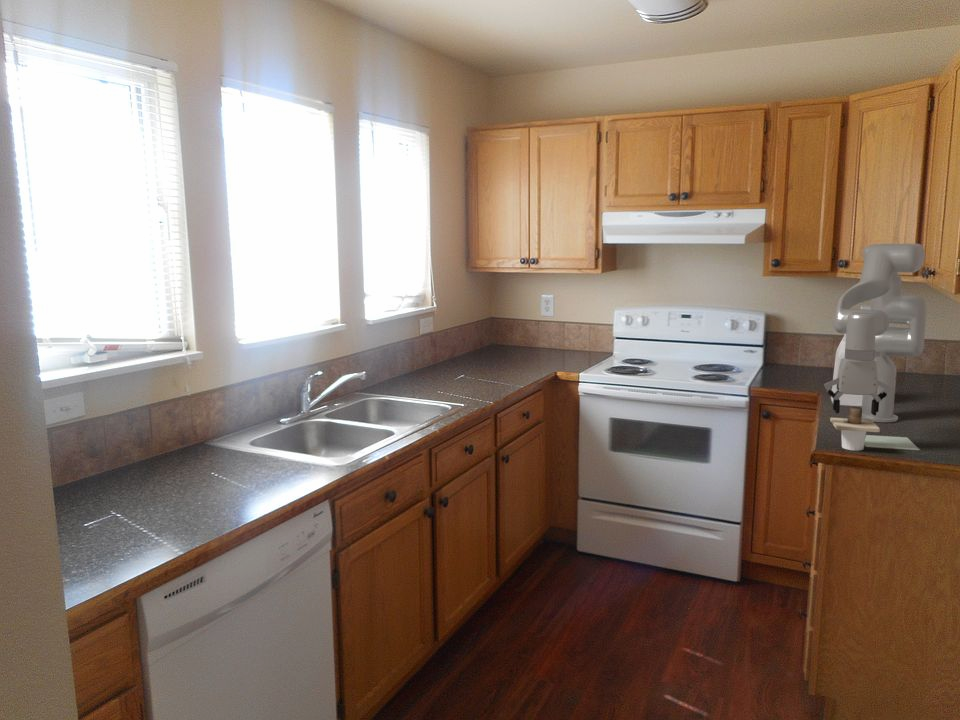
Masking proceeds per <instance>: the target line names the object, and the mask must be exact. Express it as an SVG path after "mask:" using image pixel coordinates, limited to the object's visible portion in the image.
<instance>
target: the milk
mask: <svg viewBox="0 0 960 720" xmlns="http://www.w3.org/2000/svg"><path fill="white" fill-rule="evenodd" d="M843 335H844V336H843V337H842V339H841V341H840V343H839V344H838V346H837V349H836V351H835V356H834V357H835V358H834V367H833V376H832V380H835V379H837V377H838V371H839V366H840V362H841V359H844V358H845V343H846V334H843ZM831 390H832V391H833V392H834V393H835V392H836V391H837V384H836V385H833V386H831ZM862 397H863V395H852V394H843V395H842V396H841V397H840V398H839V400H840V406H848V407H862ZM830 400H831V403H832V404H833V398H832V397H831V396H830Z"/></svg>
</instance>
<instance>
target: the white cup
mask: <svg viewBox="0 0 960 720" xmlns="http://www.w3.org/2000/svg"><path fill="white" fill-rule="evenodd" d="M840 431H841V432H840V433H841V437H840V438H841V448H842V449H845V450H847V451H848V450H849V451H863V450H864V449H865V445H864V443H865V438H866V435H867V432H866V431H849V430H840Z"/></svg>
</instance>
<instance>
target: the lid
mask: <svg viewBox="0 0 960 720" xmlns="http://www.w3.org/2000/svg"><path fill="white" fill-rule="evenodd" d="M847 414H848V415H847V417H830V418H829V419H830V422H831V424H832V425H833V427H834V428H835V429H836V430H837V431H841V430H849V431H866V433H867V432H869V433H870V432H871V433H880V431H881V430H880V427H879V426H878V425H877V424H876V422H873V421H872V420H870V419H862V406H848V413H847Z"/></svg>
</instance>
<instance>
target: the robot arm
mask: <svg viewBox="0 0 960 720" xmlns="http://www.w3.org/2000/svg"><path fill="white" fill-rule="evenodd" d="M862 259H863V266H862V270H861V274H860V278H859V282H858V283H856V284H854V285H853V286H851V287H850V288H848V289H847V290H846V291H845V292H844V293H843V294H842V295H841V296H840V298H839V300H838V302H837V305H836V308H835V312H834V316H833V328H834V330H835V331H836V332H837V333H839V334H841V335H842V334H843V335H845V334H846V343H845V358H844V359H841V362H840V366H839V371H838V377H837V379H835V380H833V379H832V380H830V381H827V382H825V383H824V384H823V386H824V388H825V391H826V392H827V394H828V396H830V398H831V397H832V398H833V403H832V410H833V411H834V412H835V414H839V413H840V409H841V408H840V407H841V405H840V400H839V398H840V397H841V396H842V395H843V394H852V395H863V397H862V406H861V408H862V419H870V420H872V421H873V422H874V423H893V422H894V423H895V422H897V421H899V416H898V415H897V414H894V409H895V408H894V407H895V394H896V385H897V384H896V383H897V367H896V364H895V363H894V361H893V360H892V359H891V358H890V356H891V357H894V356H895V357H908V358H909V357H910V358H916V357H918V356H920V355H922V353H923V351H924V347H925V337H926V323H927V321H926V320H927V304H926V300H925V299H924V297H922V296H920V295H917V294H916V295H915V294H914V295H913V294H902V284H903V283H902V277H901V276H900V274H899V273H904V274H905V273H916V272H918V271H919V270H921V269H922V268H923V266H924V264H925V261H926V251H925V248H924V246H923V245H922V244H920V243H875V244H869V245H867V246H865V247H864V248H863V251H862ZM867 301H870V309H865V308H864V309H863V308H861V309H860V308H852V307H854V306H855V305H858V304H860V303H861V304H862V303H864V302H867ZM890 324H897V325H898V324H900V325H907V326H908V327H897V326H890ZM836 384H837V391H836V392H835V393H834V392H833V391H832V386H833V385H836Z"/></svg>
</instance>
